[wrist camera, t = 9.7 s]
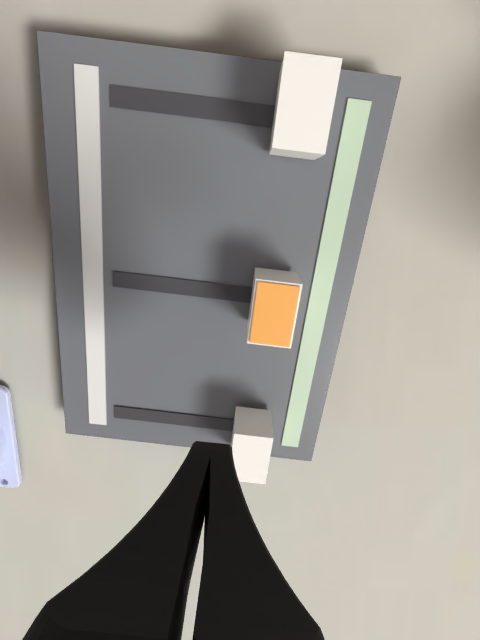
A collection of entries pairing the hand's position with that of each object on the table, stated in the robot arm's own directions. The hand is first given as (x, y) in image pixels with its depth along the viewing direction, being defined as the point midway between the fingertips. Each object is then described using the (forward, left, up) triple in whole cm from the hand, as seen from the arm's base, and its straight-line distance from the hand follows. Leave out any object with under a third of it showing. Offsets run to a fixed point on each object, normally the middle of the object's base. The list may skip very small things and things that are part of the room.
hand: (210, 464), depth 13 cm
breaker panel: (-2, +5, -9) cm, 10 cm away
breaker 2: (+2, +13, -7) cm, 14 cm away
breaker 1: (+2, -3, -7) cm, 8 cm away
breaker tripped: (+2, +5, -7) cm, 8 cm away
